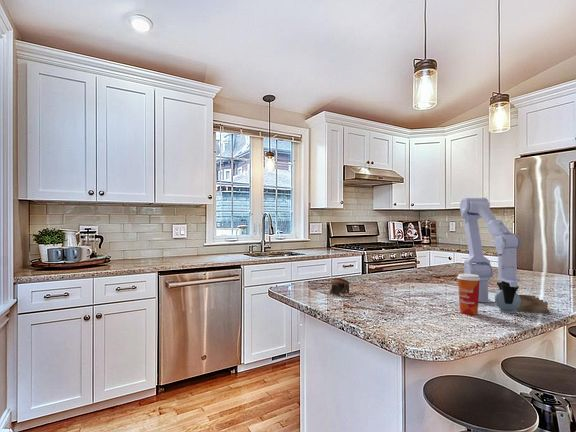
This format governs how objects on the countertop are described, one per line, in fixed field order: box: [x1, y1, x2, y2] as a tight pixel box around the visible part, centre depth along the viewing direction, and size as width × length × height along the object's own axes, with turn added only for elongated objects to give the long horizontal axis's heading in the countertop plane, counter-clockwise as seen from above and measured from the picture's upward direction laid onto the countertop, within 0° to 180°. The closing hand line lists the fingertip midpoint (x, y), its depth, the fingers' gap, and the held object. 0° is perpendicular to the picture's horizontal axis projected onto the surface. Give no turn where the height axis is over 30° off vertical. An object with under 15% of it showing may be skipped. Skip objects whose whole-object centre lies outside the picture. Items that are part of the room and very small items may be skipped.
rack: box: [516, 294, 550, 314], centre depth 128 cm, size 10×12×4 cm
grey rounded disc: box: [494, 289, 521, 314], centre depth 123 cm, size 8×2×8 cm, turn 72°
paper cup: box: [456, 273, 481, 316], centre depth 122 cm, size 8×8×14 cm
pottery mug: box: [329, 277, 350, 296], centre depth 154 cm, size 12×10×8 cm
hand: (507, 302), depth 123 cm, fingers open, 2 cm apart
